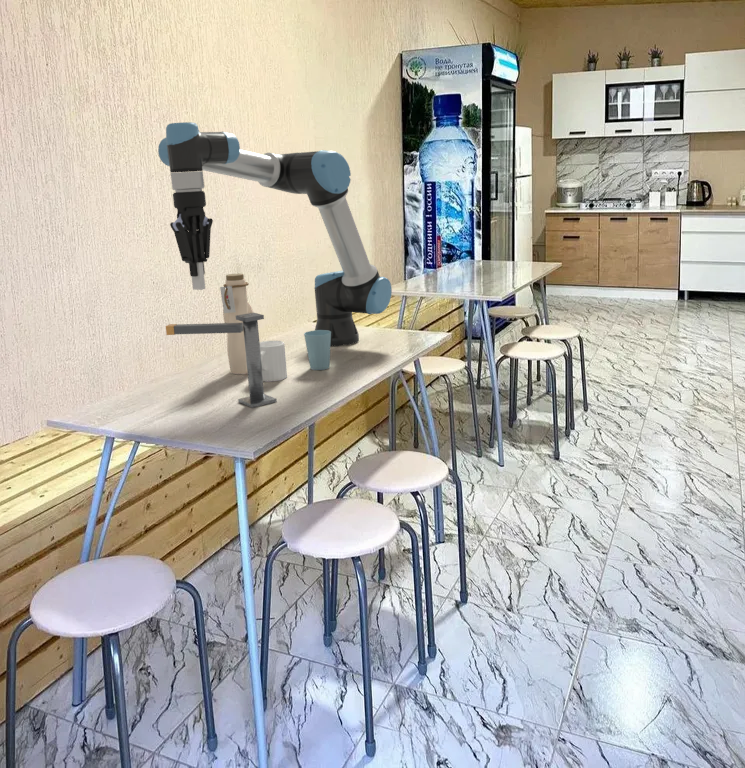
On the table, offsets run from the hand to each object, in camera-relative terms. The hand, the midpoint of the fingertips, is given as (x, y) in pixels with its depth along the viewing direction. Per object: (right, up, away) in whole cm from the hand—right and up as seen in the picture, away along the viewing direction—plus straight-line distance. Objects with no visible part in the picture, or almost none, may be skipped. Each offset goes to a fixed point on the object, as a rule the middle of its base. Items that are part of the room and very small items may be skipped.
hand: (199, 289), depth 194 cm
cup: (+28, -19, +34) cm, 48 cm away
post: (+14, -28, +3) cm, 31 cm away
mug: (+14, -22, +24) cm, 36 cm away
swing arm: (+2, -11, 0) cm, 11 cm away
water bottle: (+5, -20, +34) cm, 40 cm away
